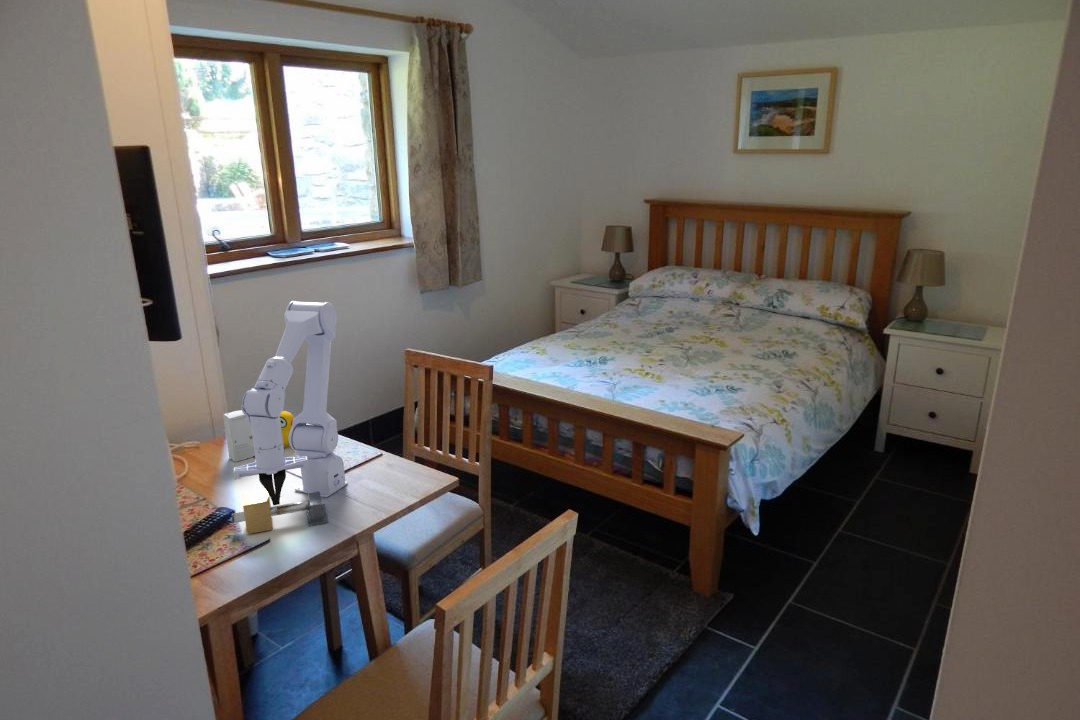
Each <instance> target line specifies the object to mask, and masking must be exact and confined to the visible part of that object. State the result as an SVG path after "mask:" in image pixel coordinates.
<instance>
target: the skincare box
mask: <svg viewBox="0 0 1080 720" xmlns="http://www.w3.org/2000/svg"><path fill="white" fill-rule="evenodd" d="M222 415H223V416H222V417H223V422H224V423H223V424H224V430H225V436H226V437H225V438H226V444H227V445H226V446H227V451H228V452H227V453H228V458H229V459H231V460H232V461H233V463H237V462H240V461H243V460H248V459H251V458H254V457H253V456H255V452H254V445H253V438H252V430H251V425H250V424H249V423H248V422H247V417H246V416H245V415H244V413H243V412H242V409H241V410H240V409H239V410H234V411H231V412H226V413H223V414H222ZM247 458H248V459H247Z"/></svg>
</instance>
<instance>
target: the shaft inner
mask: <svg viewBox="0 0 1080 720" xmlns="http://www.w3.org/2000/svg"><path fill="white" fill-rule="evenodd" d="M321 501H322V502H323V499H322V498H321ZM276 506H277V511H278V515H277V516H280V515H281V516H282V515H286V514H287V515H288V514H293V513H298V512H304V511H307V510H310V501H309V499H307V500H303V501H297V502H290V503H286V504H279V505H276ZM322 507H323V506H322Z"/></svg>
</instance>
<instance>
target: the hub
mask: <svg viewBox="0 0 1080 720" xmlns="http://www.w3.org/2000/svg"><path fill="white" fill-rule="evenodd" d="M242 496H243V500H242V506H243V507H242V509H243V512H244V515H245V521H244V522H245V528H246V534H247V535H249V534H255V533H259V532H265V531H266V532H267V531H271V530H273V529H274V527H273V526H274V524H273V523H274V522H273V516H271V510H270V507H272V506H271V498H270V495H269V494H268V492H267V490H266V489H265V488H263V489H258V490H251V491H246V492H243V495H242Z"/></svg>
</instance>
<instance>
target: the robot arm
mask: <svg viewBox="0 0 1080 720" xmlns="http://www.w3.org/2000/svg"><path fill="white" fill-rule="evenodd" d="M283 318H284V324H285V329H284V331H283V334H282V336H281V339H280V342H279V345H278V347H277V350H276V353H275V356H273V357H270V358H268V359H267V360H266V362H265V364H264V366H263V368H262V370H261V371H260V374H259V377H258V378H257V380H256V382H255V384H254V387H253V388H250V389H249V390H247V391H246V392H245V393H244V394H243V397H242V401H241V402H242V403H241V410H242V412H243V413H244V415H245V416H246V417H247V422H248V423H249V424H250V425H251V430H252V438H253V445H254V452H255V457H254V459H255V461H254V462H249V463H247V464H244V465H240V466H239V465H238V466H234V467H233V476H234V478H233V479H234V480H240V479H241V478H244V477H250V476H258V480H259V482H260V484H261V485H262V486H263V489H266V490H267V492H268V494H269V496H270V501H271V502H272V506H279V505H281V503H280V499H281V492H282V489H283V486H284V483H285V481H286V478H287V472H286V471H287V470H289V471H290V470H295V469H300V471H301V472H300V473H301V480H302V484H300V485H298V486H296V487H295V488H294V491H296V492H301V493H305V494H308V493H313V492H319V491H320V496H321V498H328V497H329V496H331V495H333V494H334V493H337V491H339V490H341V489H342V488H343V487H345V486H346V485H348V483H349V482H348V481H346V475H345V473H346V472H345V465H344V461H343V458H342V457H341V456H339V455H338V454H336V453H334V451H335V450H336V447H337V446H338V443H339V433H338V428H337V426H338V424H337V423H338V420H337V419H335V418H334V417H333V416H332V415H331V414H329V413H328V411H327V403H328V391H329V377H330V364H331V355H332V354H331V352H332V340H335V339H336V337H337V336H336V334H337V325H338V322H337V321H338V313H337V311H336V309H335V307H334V305H333V304H332V302H329V301H325V302H313V301H297V300H292V301H290V302H289V303H288V304H287V306H286V309H285V312H284V314H283ZM304 341H306V343H307V355H306V368H305V378H304V379H305V380H304V381H305V382H304V394H303V395H304V396H303V405H302V407H303V408H302V411H301V412H300V413H299V414H298V415H296V416H295V417H293V418H294V419H293V423H292V428H291V431H290V433H289V444H290V446H289V447H291V450H293V451H295V455H297V456H287V457H286V456H285V448H284V446H283V438H282V430H281V423H280V414H281V412H282V411H284V407H285V398H286V392H285V391H286V388H287V387H288V384H289V382H290V379H291V378H292V375H293V373H294V367H293V365H292V362H293V361H294V359H295V357H296V355H297V353H298V352H299V350H300V349H301V347H302V345H303V344H304V343H305V342H304Z"/></svg>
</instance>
